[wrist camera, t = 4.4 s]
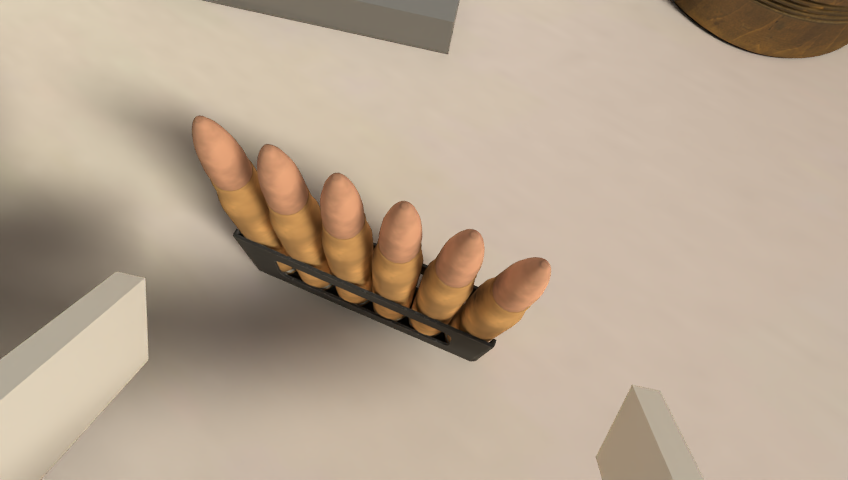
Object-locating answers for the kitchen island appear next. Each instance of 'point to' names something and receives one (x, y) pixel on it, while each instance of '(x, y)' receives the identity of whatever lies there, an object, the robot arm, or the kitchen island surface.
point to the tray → (369, 18)
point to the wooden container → (774, 24)
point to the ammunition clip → (364, 251)
